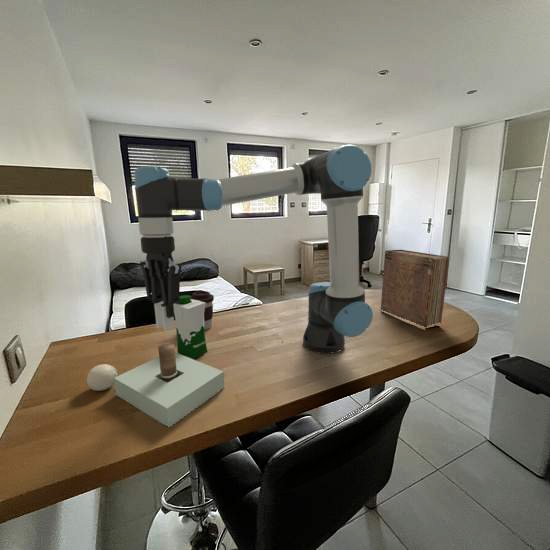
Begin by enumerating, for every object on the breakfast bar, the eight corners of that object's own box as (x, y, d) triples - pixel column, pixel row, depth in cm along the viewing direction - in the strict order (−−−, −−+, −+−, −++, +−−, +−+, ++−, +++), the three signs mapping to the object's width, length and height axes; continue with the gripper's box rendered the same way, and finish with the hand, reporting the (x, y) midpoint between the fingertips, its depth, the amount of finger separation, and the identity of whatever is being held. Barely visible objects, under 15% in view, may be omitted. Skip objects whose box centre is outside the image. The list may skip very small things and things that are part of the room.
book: (441, 327, 121) (450, 256, 114) (425, 331, 117) (433, 258, 111) (394, 309, 143) (400, 249, 137) (380, 311, 140) (385, 250, 133)
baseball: (122, 387, 80) (120, 365, 79) (92, 399, 75) (89, 375, 74) (114, 377, 85) (111, 356, 83) (85, 388, 80) (82, 366, 78)
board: (224, 387, 80) (223, 371, 79) (169, 427, 65) (167, 408, 64) (172, 365, 91) (171, 350, 90) (116, 394, 77) (113, 378, 76)
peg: (181, 389, 79) (178, 345, 76) (168, 397, 75) (164, 352, 73) (171, 384, 81) (168, 342, 78) (159, 392, 78) (154, 348, 75)
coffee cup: (218, 323, 126) (216, 290, 123) (210, 332, 116) (209, 296, 113) (196, 322, 127) (194, 289, 124) (187, 331, 117) (184, 296, 114)
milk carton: (193, 345, 105) (189, 292, 101) (211, 351, 101) (208, 296, 96) (173, 355, 98) (168, 298, 94) (192, 362, 93) (187, 303, 89)
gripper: (191, 236, 68) (197, 329, 73) (152, 233, 76) (159, 317, 81) (163, 238, 62) (172, 339, 67) (124, 235, 70) (134, 326, 75)
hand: (165, 327), depth 74 cm, fingers open, 2 cm apart
